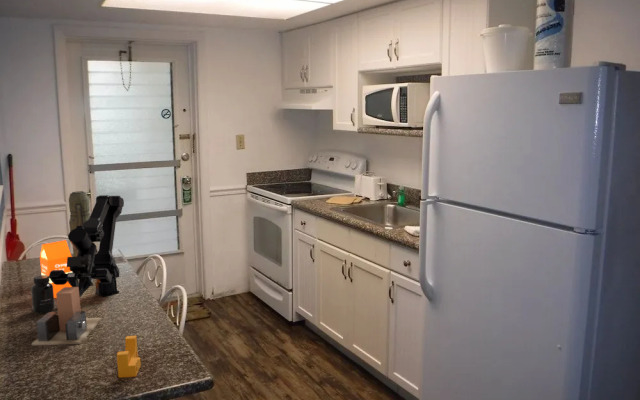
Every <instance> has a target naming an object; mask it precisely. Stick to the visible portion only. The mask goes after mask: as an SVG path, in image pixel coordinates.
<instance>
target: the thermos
mask: <svg viewBox="0 0 640 400" xmlns="http://www.w3.org/2000/svg"><path fill="white" fill-rule="evenodd" d="M68 207H69V209H68V210H69V212H70V215H69V217H70V218H69V222H68V224H69V233H70V232H71V231H72V230H73V229H75V228H76V227H77V226H82V224H83V223H84V222H86V221H88V220H89V218H90V215H91V213H90V210H91V209H90V199H89V197H88V194H87V192H85V191H73V192H71V193H70V194H69V197H68ZM77 252H78V250H76V249H75V248H74V247H73V246H72V253H73V254H72V255H73V257H76V256H77Z"/></svg>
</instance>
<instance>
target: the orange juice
mask: <svg viewBox="0 0 640 400" xmlns="http://www.w3.org/2000/svg"><path fill="white" fill-rule="evenodd" d="M67 257H73V256H72V254H71V250H70V248H69V244H68V242H67V239H66V240H65V239H64V240H59V241H53V242H47V243H43V244H41V250H40V255H39V262H40V263H39V264H40V273H41V275H48V276H49V274H50V272H51V271H52V270H63V271H64V272H65V273H66V274H68V273H72V271H70V270H69V269H70V267H67ZM41 275H40V276H41ZM49 280H50V281H49V283H51V284H52V285H53V291H54V299H57V297H56V293H58V292H59V291H60V290H61V289H63V288H64V287H72V286H71V285H70V284H69V283H68V281H67V283H66V284H65V285H55V284H54V283H53V282H52V281H51V279H50V278H49Z"/></svg>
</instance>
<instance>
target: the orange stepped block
mask: <svg viewBox="0 0 640 400" xmlns="http://www.w3.org/2000/svg"><path fill="white" fill-rule="evenodd" d="M137 337H138V336H137V335H126V337H125V343H124V344H125V347H124V350H123V351H120V350H119V351H117V353H116V363H117V375H118V378H135V377H137V374H138V372H139V371H140V368H141V366H142V364H141V363H142V362H141V357H139V353H138V352H139V351H138V350H139V349H138V338H137Z"/></svg>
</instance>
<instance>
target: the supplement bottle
mask: <svg viewBox="0 0 640 400" xmlns="http://www.w3.org/2000/svg"><path fill="white" fill-rule="evenodd" d="M49 281H50V280H49V276H48V275H37V276H34V277H33V285H32V286H31V289H30V290H31V302H32V303H31V304H32V310H33V312H34V313H35V314H47V313H48V312H53V311H54V310H55V309H56V305H55V298H54V291H53V285H52V284H51V283H49Z"/></svg>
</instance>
